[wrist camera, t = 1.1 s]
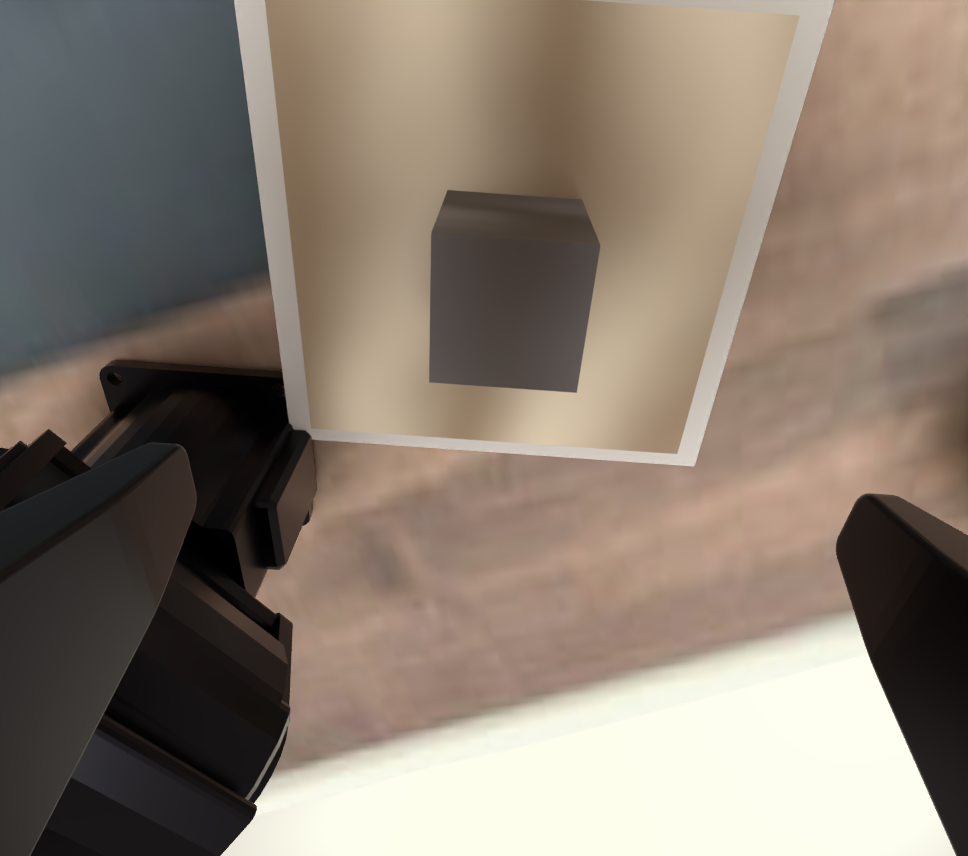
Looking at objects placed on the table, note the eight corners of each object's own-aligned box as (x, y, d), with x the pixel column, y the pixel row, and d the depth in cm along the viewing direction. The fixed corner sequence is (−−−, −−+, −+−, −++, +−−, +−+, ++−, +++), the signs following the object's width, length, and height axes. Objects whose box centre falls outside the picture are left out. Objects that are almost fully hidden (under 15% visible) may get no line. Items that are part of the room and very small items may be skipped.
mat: (297, 425, 22) (290, 438, 22) (236, -74, 15) (223, -79, 14) (688, 453, 22) (694, 466, 22) (830, -32, 15) (845, -34, 14)
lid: (317, 415, 21) (271, 508, 17) (273, -21, 15) (182, -38, 11) (672, 440, 21) (710, 538, 17) (786, 16, 15) (891, 13, 11)
